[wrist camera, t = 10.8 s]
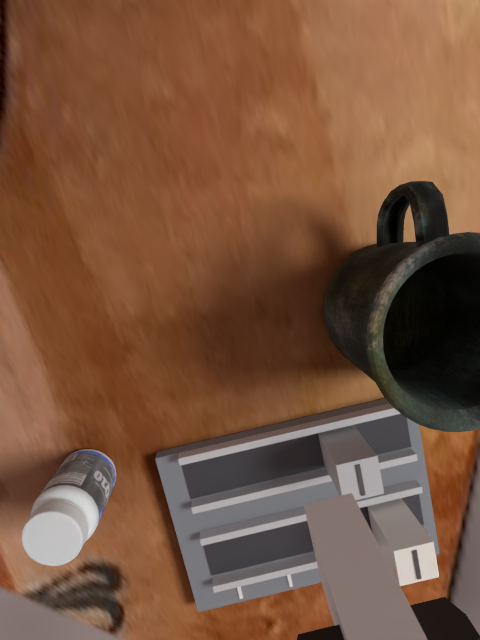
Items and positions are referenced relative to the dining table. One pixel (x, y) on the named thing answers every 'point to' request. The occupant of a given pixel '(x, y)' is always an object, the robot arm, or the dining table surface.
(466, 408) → the mug
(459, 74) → the dining table surface
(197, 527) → the console
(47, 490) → the pill bottle
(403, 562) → the fader cap
